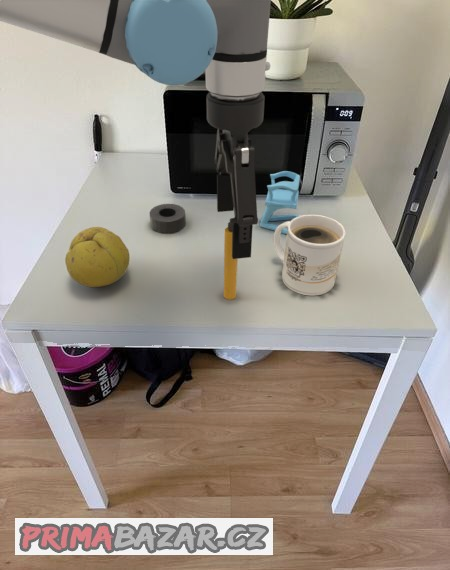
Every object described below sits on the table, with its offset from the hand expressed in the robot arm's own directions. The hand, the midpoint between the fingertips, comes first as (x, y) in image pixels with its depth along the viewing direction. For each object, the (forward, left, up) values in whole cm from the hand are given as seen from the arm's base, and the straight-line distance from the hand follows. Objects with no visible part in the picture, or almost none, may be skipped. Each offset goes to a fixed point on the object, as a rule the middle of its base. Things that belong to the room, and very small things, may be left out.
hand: (232, 232), depth 70 cm
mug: (+15, +3, -14) cm, 20 cm away
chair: (+15, +21, -14) cm, 29 cm away
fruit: (-23, +8, -14) cm, 28 cm away
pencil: (0, 0, -13) cm, 13 cm away
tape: (-9, +25, -13) cm, 30 cm away
